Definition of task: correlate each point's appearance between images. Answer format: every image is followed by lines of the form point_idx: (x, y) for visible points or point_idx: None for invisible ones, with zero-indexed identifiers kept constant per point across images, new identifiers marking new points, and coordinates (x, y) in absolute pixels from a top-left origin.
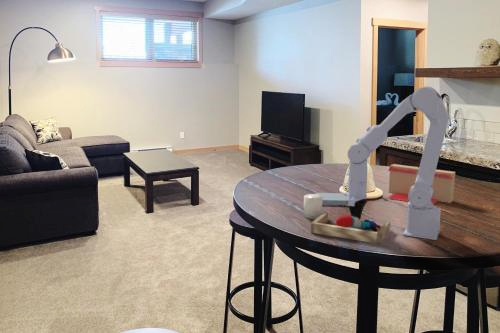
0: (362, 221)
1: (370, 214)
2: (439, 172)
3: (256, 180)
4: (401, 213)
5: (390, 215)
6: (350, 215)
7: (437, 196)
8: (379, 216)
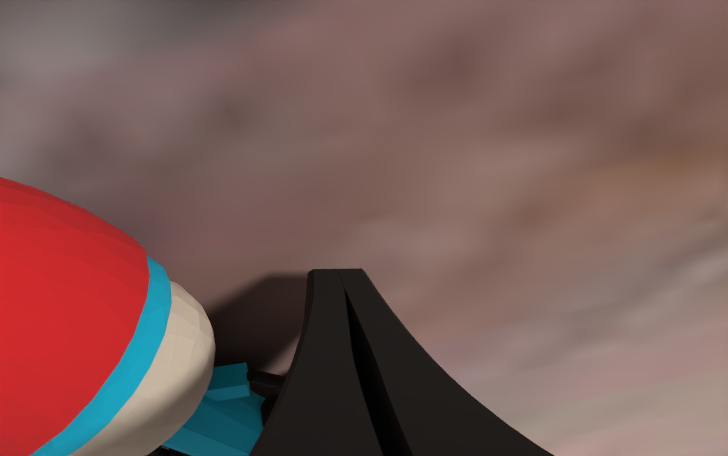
0: (185, 439)
1: (696, 302)
2: None
3: None
4: (700, 445)
5: (658, 413)
6: (17, 450)
7: None
8: (634, 367)
